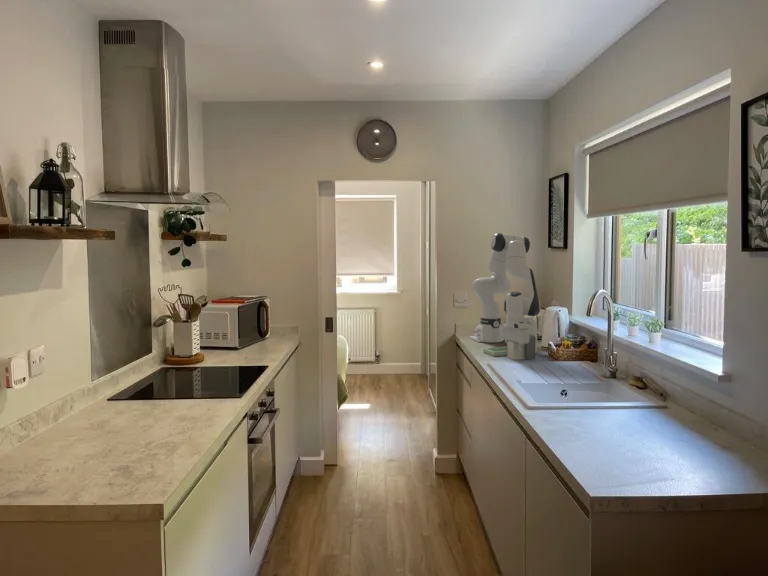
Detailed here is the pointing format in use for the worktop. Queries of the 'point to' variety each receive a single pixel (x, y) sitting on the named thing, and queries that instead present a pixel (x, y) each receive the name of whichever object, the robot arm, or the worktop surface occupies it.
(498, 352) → the tray
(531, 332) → the milk carton
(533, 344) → the open-top grey box
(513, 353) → the cream box grey panel
